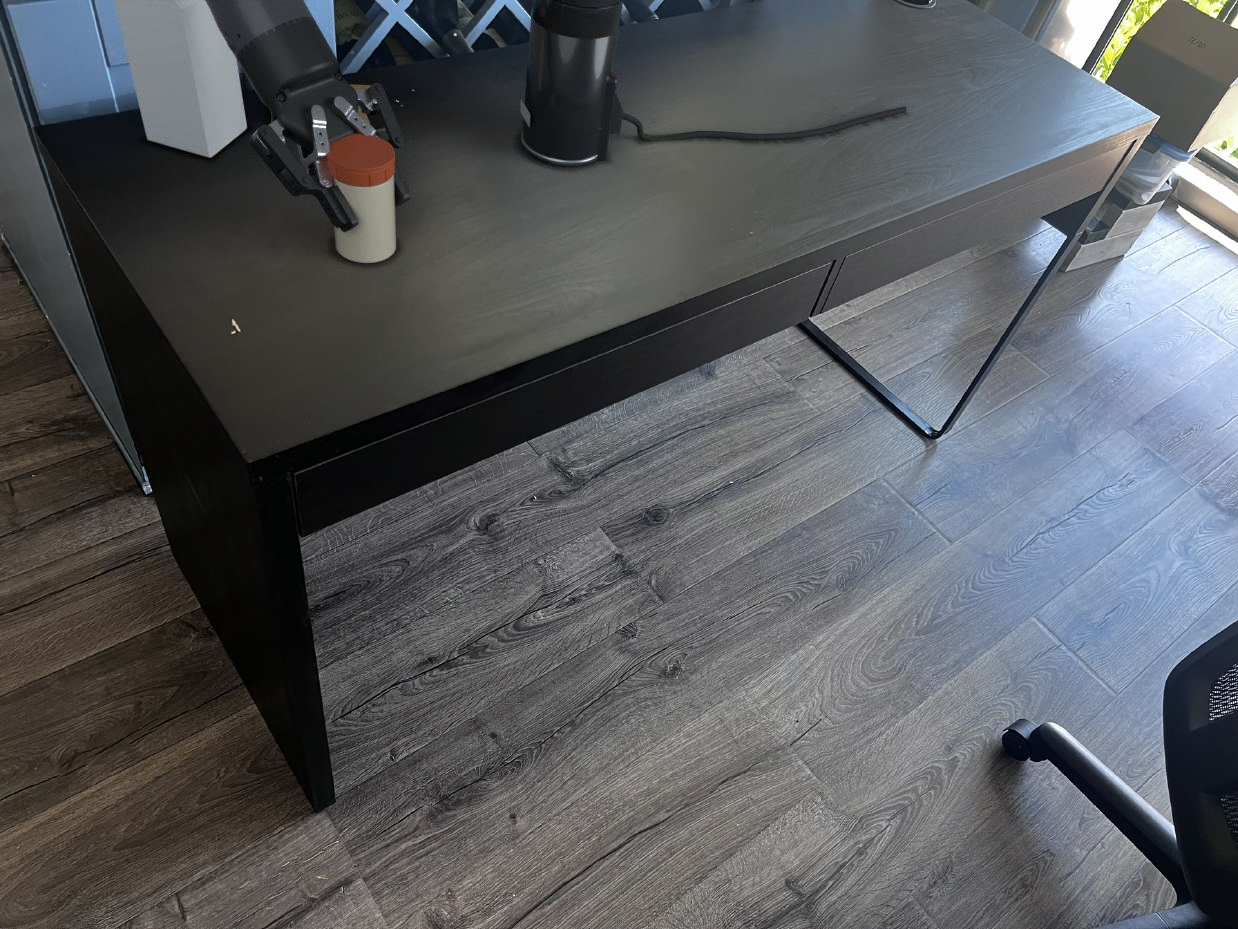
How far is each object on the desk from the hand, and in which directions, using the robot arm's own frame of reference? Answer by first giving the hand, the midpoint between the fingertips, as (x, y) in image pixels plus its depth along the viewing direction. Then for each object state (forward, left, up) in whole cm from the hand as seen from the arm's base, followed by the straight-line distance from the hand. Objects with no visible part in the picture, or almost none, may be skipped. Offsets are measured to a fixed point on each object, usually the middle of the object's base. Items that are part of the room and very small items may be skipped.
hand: (377, 214), depth 86 cm
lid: (+1, -1, +5) cm, 6 cm away
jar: (+1, -1, -4) cm, 5 cm away
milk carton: (+18, -21, -5) cm, 28 cm away
